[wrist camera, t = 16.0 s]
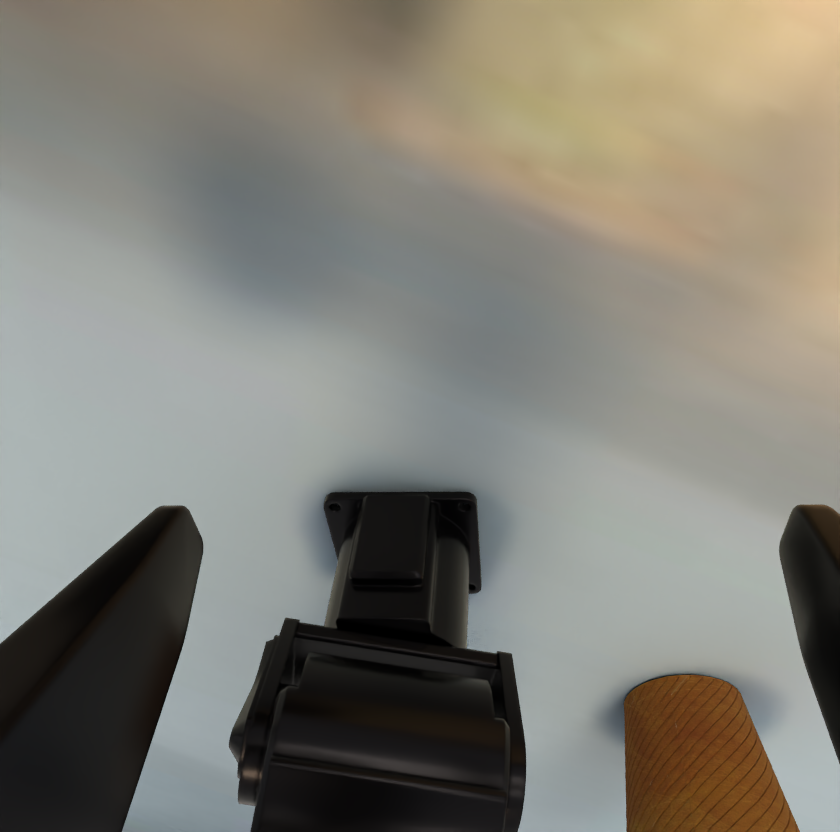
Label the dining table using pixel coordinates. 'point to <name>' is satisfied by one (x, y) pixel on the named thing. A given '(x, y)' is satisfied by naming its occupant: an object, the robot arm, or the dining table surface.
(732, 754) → the disposable coffee cup
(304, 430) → the dining table surface
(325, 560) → the dining table surface
